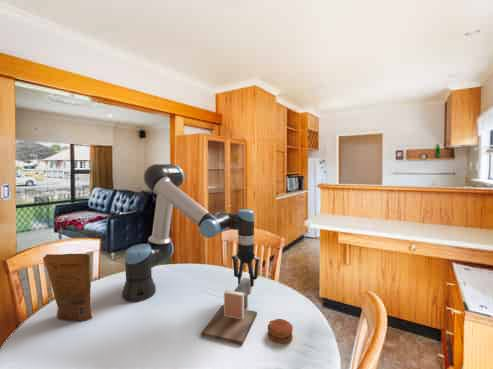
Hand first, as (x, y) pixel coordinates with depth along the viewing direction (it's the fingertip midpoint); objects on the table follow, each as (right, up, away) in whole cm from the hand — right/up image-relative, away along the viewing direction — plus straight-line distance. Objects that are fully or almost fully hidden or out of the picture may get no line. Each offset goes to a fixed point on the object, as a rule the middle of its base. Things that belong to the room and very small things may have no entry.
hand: (245, 292), depth 117 cm
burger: (+13, -6, -24) cm, 28 cm away
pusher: (-1, -1, -4) cm, 5 cm away
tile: (-5, -4, -15) cm, 16 cm away
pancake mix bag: (-72, -5, -14) cm, 73 cm away
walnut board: (-6, -5, -18) cm, 20 cm away
